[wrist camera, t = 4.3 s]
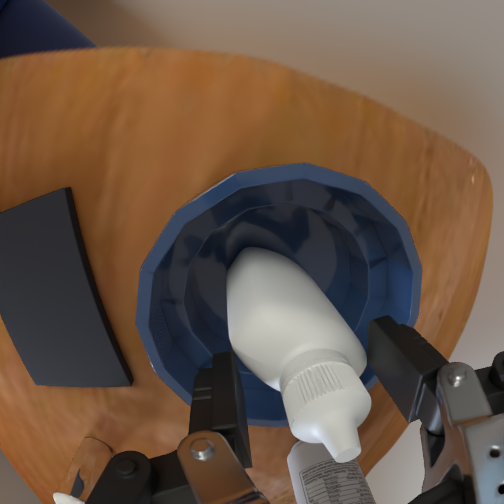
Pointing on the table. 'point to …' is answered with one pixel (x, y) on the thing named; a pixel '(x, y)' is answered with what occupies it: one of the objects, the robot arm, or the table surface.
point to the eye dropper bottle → (298, 348)
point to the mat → (55, 298)
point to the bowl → (280, 241)
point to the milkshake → (83, 472)
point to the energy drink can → (325, 477)
